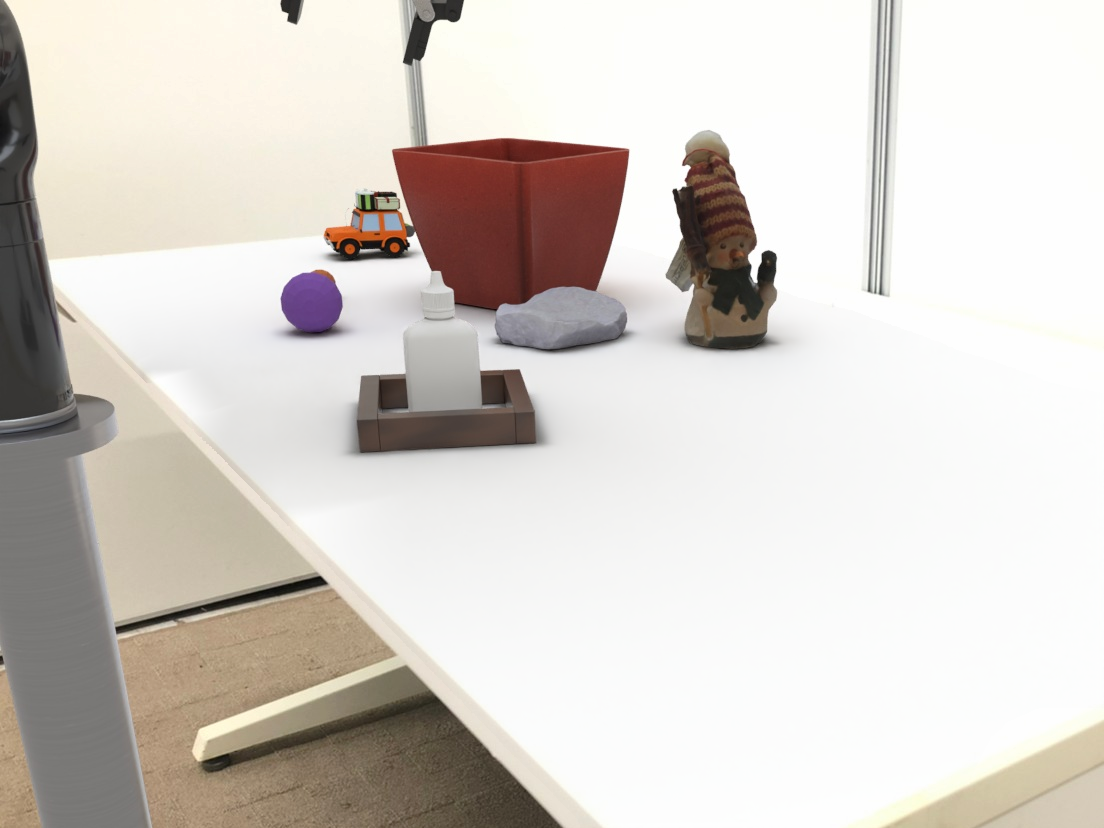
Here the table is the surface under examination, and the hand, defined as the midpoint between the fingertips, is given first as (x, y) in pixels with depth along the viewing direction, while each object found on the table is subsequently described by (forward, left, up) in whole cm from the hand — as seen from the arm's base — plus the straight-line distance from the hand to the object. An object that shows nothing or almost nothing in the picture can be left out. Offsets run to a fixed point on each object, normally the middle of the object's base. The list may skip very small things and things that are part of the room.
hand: (351, 40), depth 96 cm
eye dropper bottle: (+5, -8, -28) cm, 30 cm away
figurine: (+33, +18, -28) cm, 47 cm away
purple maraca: (-7, +34, -28) cm, 45 cm away
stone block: (+18, +20, -28) cm, 39 cm away
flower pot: (+15, +40, -28) cm, 52 cm away
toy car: (-2, +73, -28) cm, 79 cm away
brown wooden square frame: (+5, -8, -28) cm, 30 cm away
